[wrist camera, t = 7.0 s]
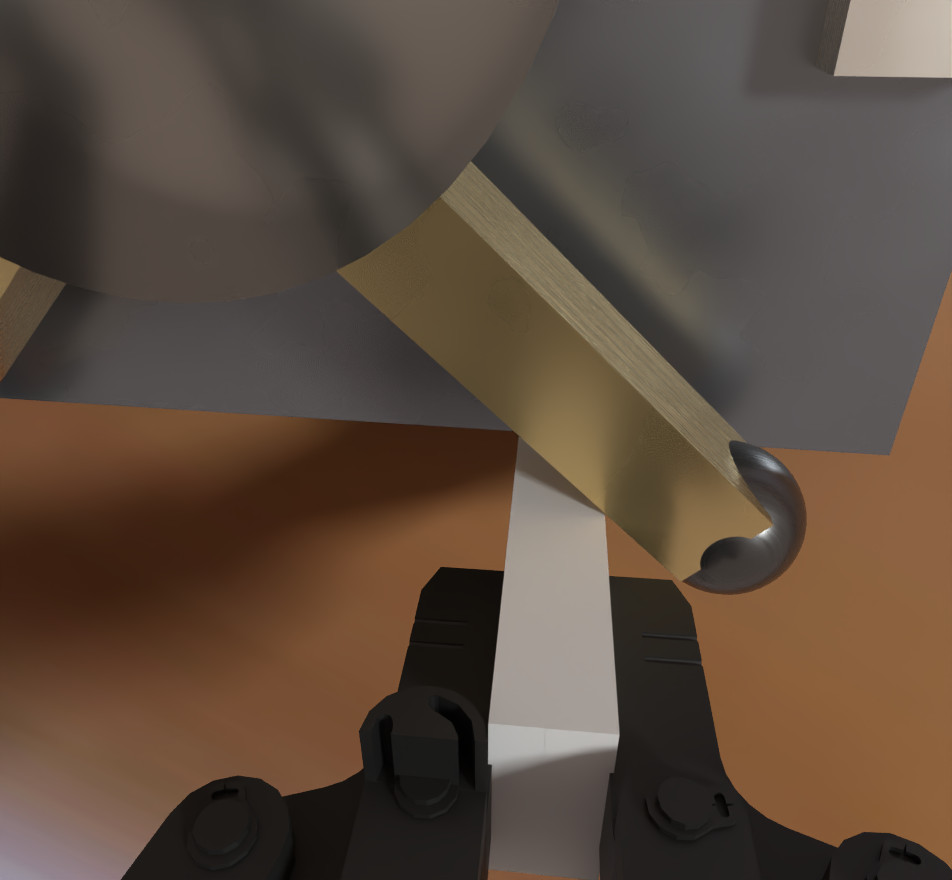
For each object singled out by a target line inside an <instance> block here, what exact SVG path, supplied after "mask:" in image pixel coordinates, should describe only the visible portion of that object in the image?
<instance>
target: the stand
mask: <svg viewBox="0 0 952 880" xmlns="http://www.w3.org/2000/svg"><path fill="white" fill-rule="evenodd" d="M471 162H472V163H473V164H474V165H475V166H476V167H477V168H478V169H479V170H480V171H481V172H482V173H483V174H484V175H485V176H486V177H487V178H488V179H489V180H490V181H491V182H492V183H493V184H494V185H495V186H496V187H497V188H498V189H499V190H500V191H501V192H502V193H503V194H504V195H505V196H506V197H507V198H508V199H509V201H510V202H511V203H512V204H513V205H514V206H515V207H516V208H517V209H518V210H519V211H520V212H521V213H522V214H523V215H524V216H525V217H526V218H527V219H528V220H529V221H530V222H531V223H532V224H533V225H534V226H535V227H536V228H537V229H538V230H539V231H540V232H541V233H542V234H543V235H544V236H545V237H546V238H547V239H548V240H549V241H550V242H551V243H552V244H553V245H554V246H555V247H556V248H557V249H558V250H559V252H560V253H561V254H562V255H563V256H564V257H565V258H566V259H567V260H568V261H569V262H570V263H571V264H572V265H573V266H574V267H575V268H576V269H577V270H578V271H579V272H580V273H581V274H582V275H583V276H584V277H585V278H586V279H587V280H588V281H589V282H590V283H591V284H592V285H593V286H594V287H595V288H596V289H597V290H598V291H599V292H600V293H601V294H602V295H603V296H604V297H605V298H606V299H607V300H608V302H609V303H610V304H611V305H612V306H613V307H614V308H615V309H616V310H617V311H618V312H619V313H620V314H621V315H622V316H623V317H624V318H625V319H626V320H627V321H628V322H629V323H630V324H631V325H632V326H633V327H634V328H635V329H636V330H637V331H638V332H639V333H640V334H641V335H642V336H643V337H644V338H645V339H646V340H647V341H648V342H649V343H650V344H651V345H652V346H653V347H654V348H655V349H656V350H657V352H658V353H659V354H660V355H661V356H662V357H663V358H664V359H665V360H666V361H667V362H668V363H669V364H670V365H671V366H672V367H673V368H674V369H675V370H676V371H677V372H678V373H679V374H680V375H681V376H682V377H683V378H684V379H685V380H686V381H687V382H688V383H689V384H690V385H691V386H692V387H693V388H694V389H695V390H696V391H697V392H698V393H699V394H700V395H701V396H702V397H703V398H704V399H705V400H706V401H707V403H708V404H709V405H710V406H711V407H712V408H713V409H714V410H715V411H716V412H717V413H718V414H719V415H720V416H721V417H722V418H723V419H724V420H725V421H726V422H727V423H728V424H729V425H730V426H731V427H732V428H733V429H734V430H735V431H736V432H737V433H738V434H739V435H740V436H741V437H742V438H743V439H744V440H745V441H746V443H748V444H751V445H754V446H757V447H769V448H785V449H800V450H816V451H831V452H847V453H862V454H878V455H889V454H890V451H891V449H892V446H893V443H894V440H895V437H896V434H897V431H898V428H899V425H900V422H901V419H902V416H903V413H904V410H905V407H906V404H907V401H908V398H909V395H910V392H911V389H912V386H913V383H914V380H915V377H916V374H917V371H918V368H919V365H920V362H921V359H922V356H923V354H924V351H925V348H926V345H927V342H928V339H929V336H930V333H931V330H932V327H933V324H934V321H935V318H936V315H937V312H938V309H939V306H940V303H941V300H942V297H943V294H944V291H945V288H946V285H947V282H948V279H949V276H950V273H951V270H952V0H559V3H558V6H557V9H556V13H555V15H554V17H553V19H552V22H551V24H550V26H549V28H548V30H547V33H546V35H545V37H544V39H543V41H542V44H541V46H540V48H539V50H538V52H537V55H536V57H535V59H534V61H533V63H532V66H531V68H530V70H529V72H528V73H527V75H526V77H525V79H524V81H523V82H522V84H521V86H520V88H519V89H518V91H517V93H516V94H515V96H514V98H513V99H512V101H511V102H510V104H509V106H508V107H507V109H506V111H505V112H504V114H503V116H502V117H501V119H500V120H499V122H498V124H497V125H496V127H495V129H494V130H493V132H492V134H491V135H490V137H489V138H488V140H487V142H486V143H485V144H484V145H483V147H482V148H481V149H480V150H479V152H478V153H477V154H476V155H475V156H474V158H473V159H472V160H471ZM0 398H9V399H24V400H40V401H55V402H71V403H86V404H102V405H117V406H133V407H148V408H164V409H180V410H195V411H211V412H226V413H242V414H257V415H273V416H288V417H304V418H319V419H335V420H350V421H366V422H381V423H397V424H412V425H428V426H443V427H459V428H474V429H490V430H505V431H513V430H512V429H511V428H510V427H508V426H507V425H506V424H505V423H504V422H503V421H502V420H501V419H500V418H499V417H497V416H496V415H495V414H494V413H493V412H492V411H491V410H490V409H489V408H487V407H486V406H485V405H484V404H483V403H482V402H481V401H480V400H479V399H477V398H476V397H475V396H474V395H473V394H472V393H471V392H470V391H469V390H467V389H466V388H465V387H464V386H463V385H462V384H461V383H460V382H459V381H457V380H456V379H455V378H454V377H453V376H452V375H451V374H450V373H449V372H447V371H446V370H445V369H444V368H443V367H442V366H441V365H440V364H439V363H437V362H436V361H435V360H434V359H433V358H432V357H431V356H430V355H429V354H427V353H426V352H425V351H424V350H423V349H422V348H421V347H420V346H419V345H417V344H416V343H415V342H414V341H413V340H412V339H411V338H410V337H409V336H407V335H406V334H405V333H404V332H403V331H402V330H401V329H400V328H399V327H398V326H396V325H395V324H394V323H393V322H392V321H391V320H390V319H389V318H388V317H386V316H385V315H384V314H383V313H382V312H381V311H380V310H379V309H378V308H376V307H375V306H374V305H373V304H372V303H371V302H370V301H369V300H368V299H366V298H365V297H364V296H363V295H362V294H361V293H360V292H359V291H358V290H356V289H355V288H354V287H353V286H352V285H351V284H350V283H349V282H348V281H346V280H345V279H344V278H343V277H342V276H341V275H340V274H339V273H338V272H336V271H334V272H332V273H330V274H328V275H326V276H324V277H322V278H320V279H317V280H314V281H311V282H308V283H305V284H302V285H299V286H296V287H293V288H290V289H287V290H284V291H281V292H278V293H273V294H268V295H262V296H257V297H251V298H246V299H240V300H234V301H228V302H204V303H170V302H159V301H147V300H136V299H129V298H124V297H120V296H115V295H110V294H105V293H101V292H96V291H91V290H87V289H82V288H79V287H76V286H73V285H70V284H67V283H66V284H65V286H64V287H63V289H62V290H61V292H60V294H59V295H58V297H57V298H56V300H55V301H54V303H53V304H52V306H51V307H50V309H49V310H48V312H47V313H46V315H45V316H44V318H43V319H42V321H41V322H40V324H39V325H38V327H37V328H36V330H35V331H34V333H33V334H32V336H31V337H30V339H29V340H28V342H27V343H26V345H25V346H24V348H23V349H22V351H21V352H20V354H19V355H18V357H17V358H16V360H15V361H14V363H13V364H12V366H11V367H10V369H9V370H8V372H7V373H6V375H5V376H4V378H3V379H2V381H1V382H0Z"/></svg>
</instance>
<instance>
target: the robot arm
mask: <svg viewBox="0 0 952 880" xmlns="http://www.w3.org/2000/svg"><path fill="white" fill-rule="evenodd" d="M701 661H702V660H701V654H700V649H699V644H698V642H697V634H696V628H695V623H694V618H693V613H692V608H691V605H690V604H689V603H688V601H687V600H686V599H685V597H684V596H683V595H682V593H681V592H680V591H679V589H678V588H677V587H676V585H675V584H674V582H673V581H672V580H661V579H646V578H631V577H615V576H609V572H608V557H607V542H606V527H605V513H604V512H603V511H602V510H601V509H599V508H598V507H597V506H596V505H595V504H594V503H593V502H592V501H591V500H590V499H588V498H587V497H586V496H585V495H584V494H583V493H582V492H581V491H580V490H578V489H577V488H576V487H575V486H574V485H573V484H572V483H571V482H570V481H568V480H567V479H566V478H565V477H564V476H563V475H562V474H561V473H560V472H558V471H557V470H556V469H555V468H554V467H553V466H552V465H551V464H550V463H548V462H547V461H546V460H545V459H544V458H543V457H542V456H541V455H540V454H538V453H537V452H536V451H535V450H534V449H533V448H532V447H531V446H530V445H528V444H527V443H526V442H525V441H524V440H523V439H522V438H521V437H520V436H519V439H518V448H517V458H516V467H515V477H514V486H513V495H512V505H511V514H510V524H509V533H508V543H507V552H506V562H505V571H494V570H479V569H464V568H449V567H440V569H439V570H438V571H437V572H436V573H435V575H434V576H433V577H432V578H431V579H430V581H429V582H428V583H427V584H426V585H425V586H424V588H423V589H422V590H421V594H420V598H419V603H418V607H417V611H416V616H415V623H414V624H413V628H412V633H411V637H410V644H409V646H408V650H407V654H406V658H405V662H404V667H403V671H402V675H401V679H400V684H399V688H398V692H396V693H394V694H391V695H389V696H386V697H385V698H384V699H383V700H382V701H381V702H380V703H378V704H377V705H376V706H375V707H374V708H373V709H371V710H370V711H369V713H368V715H367V717H366V719H365V721H364V723H363V724H362V726H361V728H360V730H359V735H360V743H361V751H362V759H363V767H364V768H363V769H362V770H361V771H360V772H358V773H356V774H355V775H353V776H351V777H350V778H348V779H346V780H344V781H342V782H339V783H336V784H333V785H330V786H327V787H324V788H319V789H315V790H310V791H306V792H301V793H297V794H292V795H288V796H283V797H282V796H281V795H280V793H279V791H278V790H277V789H276V788H274V787H273V786H271V785H269V784H268V783H266V782H265V781H263V780H261V779H259V778H251V777H244V776H234V777H229V778H224V779H219V780H215V781H212V782H210V783H208V784H206V785H205V786H203V787H201V788H199V789H197V790H196V791H194V792H192V793H190V794H189V795H188V796H187V797H186V798H185V799H184V800H183V801H182V802H181V803H180V804H179V805H178V806H177V807H176V808H175V809H174V810H173V811H172V812H171V813H170V814H169V816H168V817H167V818H166V820H165V821H164V822H163V824H162V825H161V826H160V828H159V829H158V830H157V832H156V833H155V834H154V836H153V837H152V838H151V840H150V841H149V842H148V844H147V845H146V847H145V848H144V849H143V851H142V852H141V853H140V855H139V856H138V857H137V859H136V860H135V861H134V863H133V864H132V865H131V867H130V868H129V869H128V871H127V872H126V873H125V875H124V876H123V877H122V879H121V880H487V879H488V869H491V870H501V871H511V872H521V873H531V874H537V875H547V876H557V877H568V878H578V879H588V880H598V878H599V872H600V880H952V870H951V868H950V867H949V866H948V865H947V864H946V863H945V862H944V861H942V860H941V859H939V858H938V857H937V856H935V855H934V854H932V853H931V852H929V851H928V850H926V849H925V848H924V847H922V846H921V845H919V844H917V843H915V842H912V841H909V840H907V839H904V838H901V837H899V836H896V835H893V834H891V833H873V832H863V833H861V834H858V835H856V836H853V837H851V838H848V839H846V840H844V841H843V842H842V843H841V845H840V846H839V847H838V848H837V847H834V846H832V845H829V844H827V843H824V842H822V841H819V840H817V839H814V838H811V837H809V836H806V835H804V834H801V833H799V832H796V831H794V830H791V829H789V828H786V827H784V826H782V825H780V824H778V823H776V822H774V821H772V820H770V819H768V818H767V817H765V816H764V815H763V814H761V813H760V812H759V811H757V810H756V809H755V808H753V807H752V806H751V805H749V804H748V803H747V801H746V800H745V799H744V798H743V797H742V796H741V795H740V794H739V793H738V792H737V791H736V790H735V788H734V786H733V785H732V783H731V781H730V780H729V778H728V777H727V775H726V773H725V770H724V767H723V764H722V761H721V758H720V753H719V748H718V743H717V738H716V732H715V727H714V722H713V717H712V712H711V706H710V701H709V696H708V691H707V686H706V680H705V675H704V670H703V666H702V665H701Z"/></svg>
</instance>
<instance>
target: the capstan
mask: <svg viewBox="0 0 952 880" xmlns="http://www.w3.org/2000/svg"><path fill="white" fill-rule="evenodd" d="M558 3H559V0H0V382H1V381H2V379H3V378H4V376H5V375H6V373H7V372H8V370H9V369H10V367H11V366H12V364H13V363H14V361H15V360H16V358H17V357H18V355H19V354H20V352H21V351H22V349H23V348H24V346H25V345H26V343H27V342H28V340H29V339H30V337H31V336H32V334H33V333H34V331H35V330H36V328H37V327H38V325H39V324H40V322H41V321H42V319H43V318H44V316H45V315H46V313H47V312H48V310H49V309H50V307H51V306H52V304H53V303H54V301H55V300H56V298H57V297H58V295H59V294H60V292H61V290H62V289H63V287H64V286H65V284H66V283H67V284H70V285H73V286H76V287H79V288H82V289H87V290H91V291H96V292H101V293H105V294H110V295H115V296H120V297H124V298H129V299H136V300H147V301H159V302H170V303H204V302H228V301H234V300H240V299H246V298H251V297H257V296H262V295H268V294H273V293H278V292H281V291H284V290H287V289H290V288H293V287H296V286H299V285H302V284H305V283H308V282H311V281H314V280H317V279H320V278H322V277H324V276H326V275H328V274H330V273H332V272H334V271H336V272H338V273H339V274H340V275H341V276H342V277H343V278H344V279H345V280H346V281H348V282H349V283H350V284H351V285H352V286H353V287H354V288H355V289H356V290H358V291H359V292H360V293H361V294H362V295H363V296H364V297H365V298H366V299H368V300H369V301H370V302H371V303H372V304H373V305H374V306H375V307H376V308H378V309H379V310H380V311H381V312H382V313H383V314H384V315H385V316H386V317H388V318H389V319H390V320H391V321H392V322H393V323H394V324H395V325H396V326H398V327H399V328H400V329H401V330H402V331H403V332H404V333H405V334H406V335H407V336H409V337H410V338H411V339H412V340H413V341H414V342H415V343H416V344H417V345H419V346H420V347H421V348H422V349H423V350H424V351H425V352H426V353H427V354H429V355H430V356H431V357H432V358H433V359H434V360H435V361H436V362H437V363H439V364H440V365H441V366H442V367H443V368H444V369H445V370H446V371H447V372H449V373H450V374H451V375H452V376H453V377H454V378H455V379H456V380H457V381H459V382H460V383H461V384H462V385H463V386H464V387H465V388H466V389H467V390H469V391H470V392H471V393H472V394H473V395H474V396H475V397H476V398H477V399H479V400H480V401H481V402H482V403H483V404H484V405H485V406H486V407H487V408H489V409H490V410H491V411H492V412H493V413H494V414H495V415H496V416H497V417H499V418H500V419H501V420H502V421H503V422H504V423H505V424H506V425H507V426H508V427H510V428H511V429H512V430H513V431H514V432H515V433H516V434H517V435H518V436H520V437H521V438H522V439H523V440H524V441H525V442H526V443H527V444H528V445H530V446H531V447H532V448H533V449H534V450H535V451H536V452H537V453H538V454H540V455H541V456H542V457H543V458H544V459H545V460H546V461H547V462H548V463H550V464H551V465H552V466H553V467H554V468H555V469H556V470H557V471H558V472H560V473H561V474H562V475H563V476H564V477H565V478H566V479H567V480H568V481H570V482H571V483H572V484H573V485H574V486H575V487H576V488H577V489H578V490H580V491H581V492H582V493H583V494H584V495H585V496H586V497H587V498H588V499H590V500H591V501H592V502H593V503H594V504H595V505H596V506H597V507H598V508H599V509H601V510H602V511H603V512H604V513H605V514H606V515H607V516H608V517H609V518H611V519H612V520H613V521H614V522H615V523H616V524H617V525H618V526H619V527H621V528H622V529H623V530H624V531H625V532H626V533H627V534H628V535H629V536H631V537H632V538H633V539H634V540H635V541H636V542H637V543H638V544H639V545H641V546H642V547H643V548H644V549H645V550H646V551H647V552H648V553H649V554H651V555H652V556H653V557H654V558H655V559H656V560H657V561H658V562H659V563H661V564H662V565H663V566H664V567H665V568H666V569H667V570H668V571H669V572H671V573H672V574H673V575H674V576H675V577H676V578H677V579H678V580H679V581H683V582H684V583H686V584H688V585H690V586H692V587H694V588H696V589H699V590H702V591H705V592H709V593H715V594H723V595H733V594H742V593H747V592H751V591H754V590H757V589H759V588H762V587H764V586H766V585H768V584H770V583H771V582H773V581H774V580H776V579H777V578H778V577H780V576H781V575H782V574H783V573H784V572H785V571H786V570H787V569H788V568H789V566H790V565H791V564H792V563H793V561H794V560H795V558H796V557H797V555H798V553H799V551H800V549H801V547H802V544H803V541H804V537H805V531H806V525H807V523H806V507H805V502H804V498H803V495H802V492H801V490H800V487H799V486H798V484H797V482H796V480H795V479H794V477H793V475H792V474H791V473H790V472H789V470H788V469H787V468H786V467H785V466H784V465H783V464H782V463H781V462H780V461H779V460H778V459H777V458H775V457H774V456H773V455H771V454H770V453H768V452H767V451H765V450H763V449H761V448H759V447H757V446H754V445H751V444H748V443H746V441H745V440H744V439H743V438H742V437H741V436H740V435H739V434H738V433H737V432H736V431H735V430H734V429H733V428H732V427H731V426H730V425H729V424H728V423H727V422H726V421H725V420H724V419H723V418H722V417H721V416H720V415H719V414H718V413H717V412H716V411H715V410H714V409H713V408H712V407H711V406H710V405H709V404H708V403H707V401H706V400H705V399H704V398H703V397H702V396H701V395H700V394H699V393H698V392H697V391H696V390H695V389H694V388H693V387H692V386H691V385H690V384H689V383H688V382H687V381H686V380H685V379H684V378H683V377H682V376H681V375H680V374H679V373H678V372H677V371H676V370H675V369H674V368H673V367H672V366H671V365H670V364H669V363H668V362H667V361H666V360H665V359H664V358H663V357H662V356H661V355H660V354H659V353H658V352H657V350H656V349H655V348H654V347H653V346H652V345H651V344H650V343H649V342H648V341H647V340H646V339H645V338H644V337H643V336H642V335H641V334H640V333H639V332H638V331H637V330H636V329H635V328H634V327H633V326H632V325H631V324H630V323H629V322H628V321H627V320H626V319H625V318H624V317H623V316H622V315H621V314H620V313H619V312H618V311H617V310H616V309H615V308H614V307H613V306H612V305H611V304H610V303H609V302H608V300H607V299H606V298H605V297H604V296H603V295H602V294H601V293H600V292H599V291H598V290H597V289H596V288H595V287H594V286H593V285H592V284H591V283H590V282H589V281H588V280H587V279H586V278H585V277H584V276H583V275H582V274H581V273H580V272H579V271H578V270H577V269H576V268H575V267H574V266H573V265H572V264H571V263H570V262H569V261H568V260H567V259H566V258H565V257H564V256H563V255H562V254H561V253H560V252H559V250H558V249H557V248H556V247H555V246H554V245H553V244H552V243H551V242H550V241H549V240H548V239H547V238H546V237H545V236H544V235H543V234H542V233H541V232H540V231H539V230H538V229H537V228H536V227H535V226H534V225H533V224H532V223H531V222H530V221H529V220H528V219H527V218H526V217H525V216H524V215H523V214H522V213H521V212H520V211H519V210H518V209H517V208H516V207H515V206H514V205H513V204H512V203H511V202H510V201H509V199H508V198H507V197H506V196H505V195H504V194H503V193H502V192H501V191H500V190H499V189H498V188H497V187H496V186H495V185H494V184H493V183H492V182H491V181H490V180H489V179H488V178H487V177H486V176H485V175H484V174H483V173H482V172H481V171H480V170H479V169H478V168H477V167H476V166H475V165H474V164H473V163H472V162H471V160H472V159H473V158H474V156H475V155H476V154H477V153H478V152H479V150H480V149H481V148H482V147H483V145H484V144H485V143H486V142H487V140H488V138H489V137H490V135H491V134H492V132H493V130H494V129H495V127H496V125H497V124H498V122H499V120H500V119H501V117H502V116H503V114H504V112H505V111H506V109H507V107H508V106H509V104H510V102H511V101H512V99H513V98H514V96H515V94H516V93H517V91H518V89H519V88H520V86H521V84H522V82H523V81H524V79H525V77H526V75H527V73H528V72H529V70H530V68H531V66H532V63H533V61H534V59H535V57H536V55H537V52H538V50H539V48H540V46H541V44H542V41H543V39H544V37H545V35H546V33H547V30H548V28H549V26H550V24H551V22H552V19H553V17H554V15H555V13H556V9H557V6H558Z"/></svg>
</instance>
